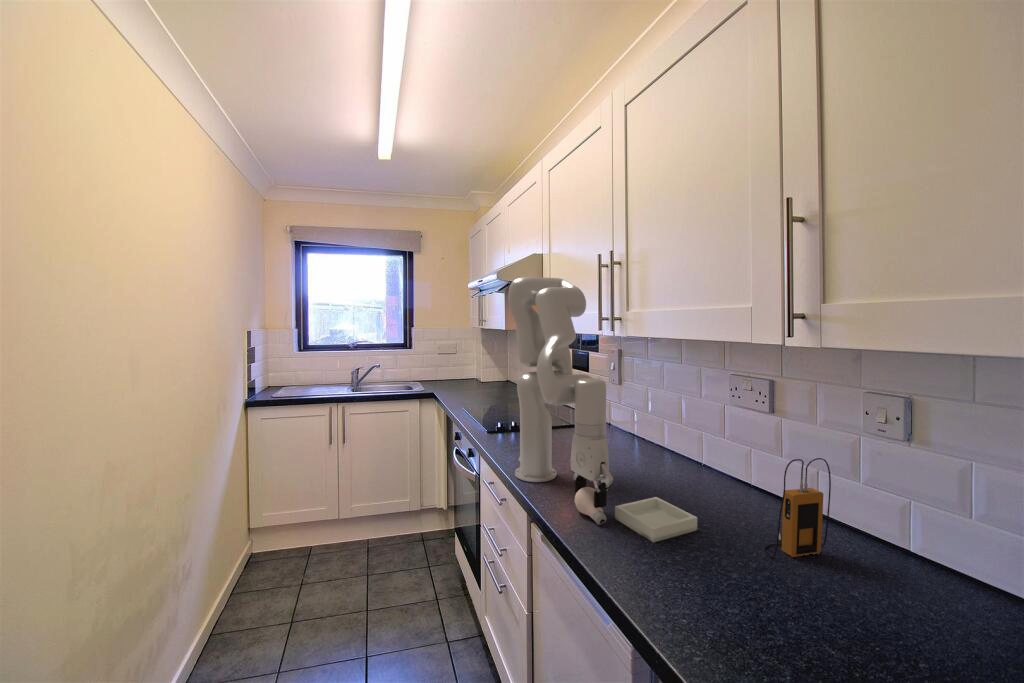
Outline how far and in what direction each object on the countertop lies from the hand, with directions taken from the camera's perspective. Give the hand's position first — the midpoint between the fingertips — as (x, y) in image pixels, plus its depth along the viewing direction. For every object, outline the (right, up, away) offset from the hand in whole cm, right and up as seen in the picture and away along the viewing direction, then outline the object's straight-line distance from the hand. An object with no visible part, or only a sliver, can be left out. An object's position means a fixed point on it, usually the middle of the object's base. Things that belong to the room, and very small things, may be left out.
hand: (590, 500), depth 112 cm
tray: (+14, -4, -5) cm, 16 cm away
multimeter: (+39, -5, -15) cm, 42 cm away
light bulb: (0, -4, -1) cm, 4 cm away
